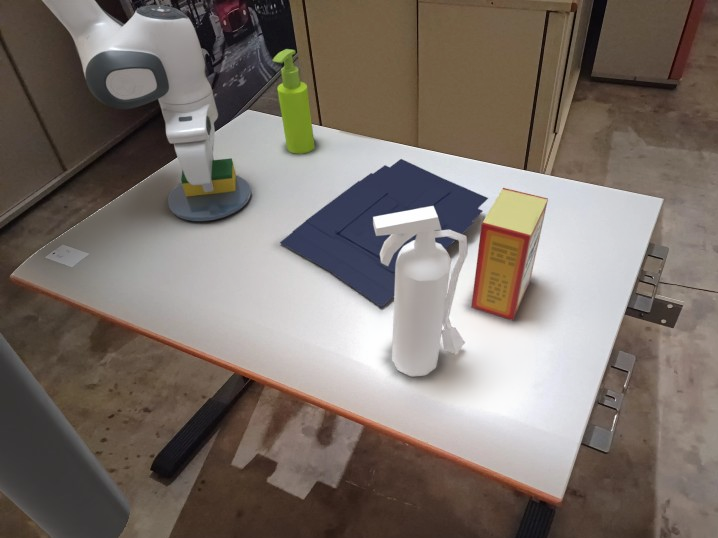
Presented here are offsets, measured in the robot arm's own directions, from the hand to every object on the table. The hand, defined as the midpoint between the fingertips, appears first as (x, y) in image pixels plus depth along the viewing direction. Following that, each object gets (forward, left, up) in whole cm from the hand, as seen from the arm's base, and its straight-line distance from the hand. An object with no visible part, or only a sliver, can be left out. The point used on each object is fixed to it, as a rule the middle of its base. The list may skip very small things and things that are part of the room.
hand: (210, 179), depth 104 cm
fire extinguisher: (+30, -49, -3) cm, 57 cm away
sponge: (0, 0, -1) cm, 1 cm away
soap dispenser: (+18, +13, -3) cm, 22 cm away
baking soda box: (+45, -39, -3) cm, 59 cm away
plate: (0, -3, -3) cm, 4 cm away
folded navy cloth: (+31, -20, -3) cm, 37 cm away
